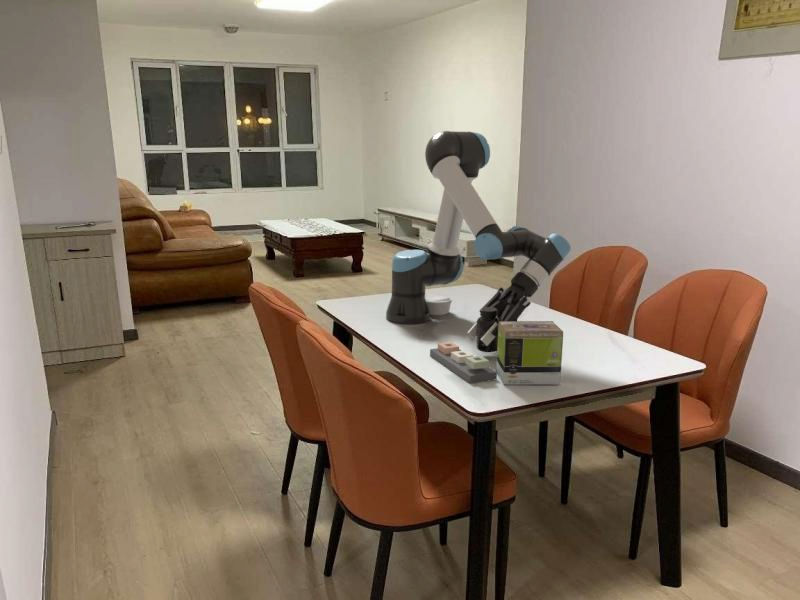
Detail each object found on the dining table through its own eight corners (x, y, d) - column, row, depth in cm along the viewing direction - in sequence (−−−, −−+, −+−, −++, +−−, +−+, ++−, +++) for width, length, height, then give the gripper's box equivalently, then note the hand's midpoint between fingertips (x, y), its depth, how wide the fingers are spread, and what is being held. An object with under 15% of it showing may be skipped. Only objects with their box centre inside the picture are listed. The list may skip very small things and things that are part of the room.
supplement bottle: (482, 343, 188) (483, 304, 185) (503, 347, 184) (505, 307, 181) (472, 350, 182) (473, 310, 179) (494, 354, 179) (495, 313, 176)
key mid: (450, 358, 175) (451, 351, 175) (465, 356, 177) (465, 350, 177) (458, 363, 171) (459, 356, 171) (473, 361, 173) (473, 354, 173)
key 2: (465, 363, 168) (465, 356, 168) (479, 361, 170) (480, 355, 169) (473, 369, 164) (474, 362, 164) (488, 367, 166) (489, 360, 165)
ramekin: (446, 318, 224) (447, 303, 222) (416, 314, 227) (417, 300, 226) (454, 310, 234) (454, 296, 233) (425, 307, 237) (425, 293, 236)
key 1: (437, 349, 183) (437, 343, 182) (451, 347, 184) (451, 341, 184) (444, 354, 179) (445, 347, 178) (458, 352, 180) (459, 346, 180)
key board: (429, 355, 183) (430, 349, 183) (454, 352, 187) (454, 346, 186) (469, 383, 163) (470, 376, 163) (496, 379, 166) (496, 372, 166)
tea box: (549, 372, 173) (554, 320, 169) (560, 386, 163) (565, 331, 159) (495, 371, 172) (498, 319, 168) (502, 385, 162) (505, 330, 159)
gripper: (556, 295, 176) (503, 357, 174) (517, 280, 194) (468, 337, 191) (542, 277, 173) (487, 340, 171) (503, 264, 190) (453, 322, 188)
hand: (477, 338), depth 181 cm, fingers closed on supplement bottle, 7 cm apart
